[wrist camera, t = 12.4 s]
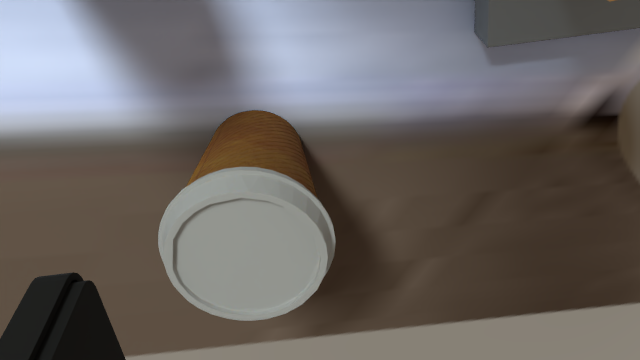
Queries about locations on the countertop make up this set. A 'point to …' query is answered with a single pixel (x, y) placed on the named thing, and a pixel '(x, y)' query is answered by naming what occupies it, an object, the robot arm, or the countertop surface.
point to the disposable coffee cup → (248, 223)
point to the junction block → (550, 19)
